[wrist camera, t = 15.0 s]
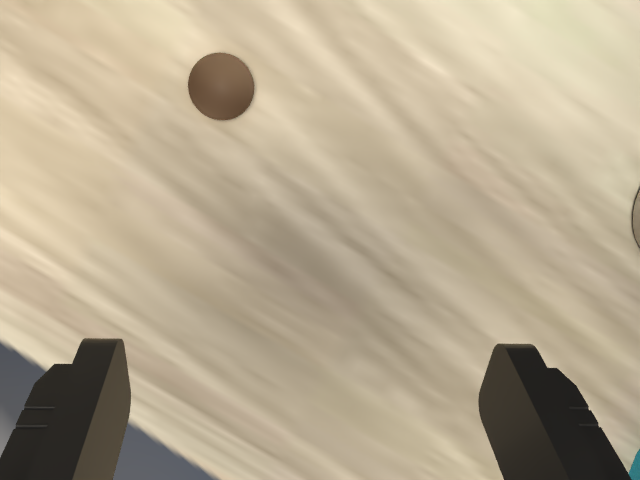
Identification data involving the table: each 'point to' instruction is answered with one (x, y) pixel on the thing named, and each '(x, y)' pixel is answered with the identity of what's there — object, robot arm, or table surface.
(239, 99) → the walnut disc
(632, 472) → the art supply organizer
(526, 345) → the robot arm
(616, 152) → the table surface
